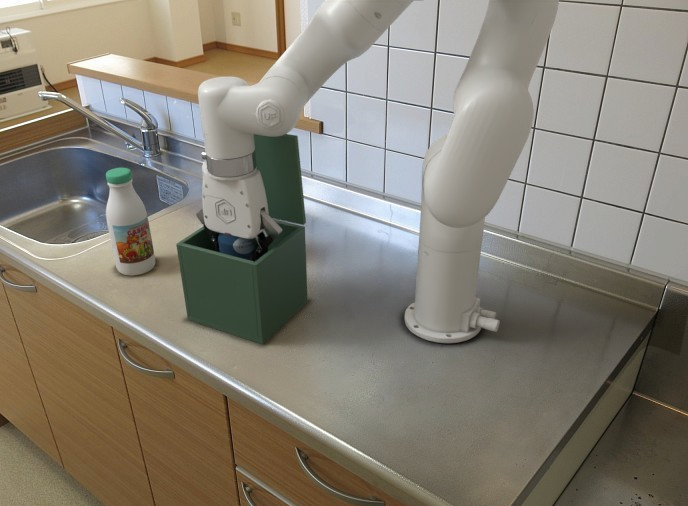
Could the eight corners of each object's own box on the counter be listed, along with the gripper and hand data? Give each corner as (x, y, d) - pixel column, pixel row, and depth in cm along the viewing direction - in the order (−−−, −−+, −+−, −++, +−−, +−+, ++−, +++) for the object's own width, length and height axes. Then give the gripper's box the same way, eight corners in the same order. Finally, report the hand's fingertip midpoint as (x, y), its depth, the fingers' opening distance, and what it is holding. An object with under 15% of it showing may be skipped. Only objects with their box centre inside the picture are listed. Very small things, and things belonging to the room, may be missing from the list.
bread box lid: (295, 137, 101) (297, 135, 102) (212, 125, 109) (215, 123, 109) (303, 225, 111) (306, 222, 111) (227, 208, 118) (229, 206, 118)
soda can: (264, 299, 111) (258, 234, 105) (222, 301, 111) (214, 236, 105) (266, 278, 117) (261, 215, 110) (227, 280, 117) (219, 217, 111)
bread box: (262, 344, 109) (256, 264, 101) (187, 320, 116) (175, 243, 108) (307, 301, 119) (305, 226, 111) (236, 281, 126) (228, 209, 118)
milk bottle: (109, 273, 131) (88, 177, 120) (129, 255, 137) (110, 162, 127) (144, 278, 129) (125, 180, 118) (162, 259, 135) (147, 165, 124)
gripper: (171, 162, 103) (187, 263, 113) (265, 179, 95) (274, 286, 105) (201, 147, 109) (214, 245, 118) (292, 162, 101) (298, 265, 110)
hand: (242, 263), depth 111 cm, fingers closed on soda can, 7 cm apart
